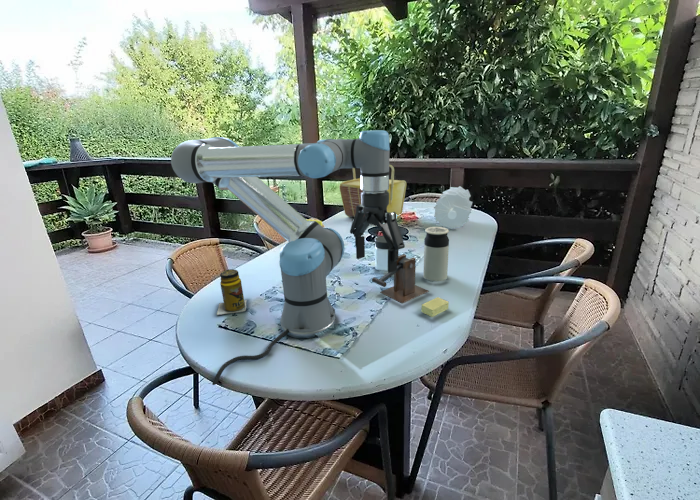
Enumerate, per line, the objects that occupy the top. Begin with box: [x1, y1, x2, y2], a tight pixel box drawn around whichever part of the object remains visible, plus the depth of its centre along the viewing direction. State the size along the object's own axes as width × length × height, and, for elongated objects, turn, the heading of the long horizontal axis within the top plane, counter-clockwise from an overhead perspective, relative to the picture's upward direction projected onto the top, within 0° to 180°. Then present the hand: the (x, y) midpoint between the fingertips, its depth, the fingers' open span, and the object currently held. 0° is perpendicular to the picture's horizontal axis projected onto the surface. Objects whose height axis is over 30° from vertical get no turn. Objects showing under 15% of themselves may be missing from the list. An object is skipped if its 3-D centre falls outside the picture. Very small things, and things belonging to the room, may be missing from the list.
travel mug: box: [422, 226, 450, 283], centre depth 123 cm, size 8×8×18 cm
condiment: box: [216, 268, 247, 316], centre depth 111 cm, size 7×8×12 cm
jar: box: [374, 235, 394, 272], centre depth 134 cm, size 9×8×12 cm
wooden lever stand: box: [379, 253, 430, 305], centre depth 114 cm, size 12×10×13 cm
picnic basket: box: [338, 164, 407, 219], centre depth 202 cm, size 29×26×30 cm
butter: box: [420, 296, 450, 318], centre depth 104 cm, size 7×4×4 cm, turn 128°
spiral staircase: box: [433, 185, 474, 230], centre depth 185 cm, size 18×18×25 cm
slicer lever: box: [371, 256, 409, 288], centre depth 110 cm, size 13×5×2 cm, turn 128°
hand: (375, 264), depth 105 cm, fingers open, 13 cm apart
